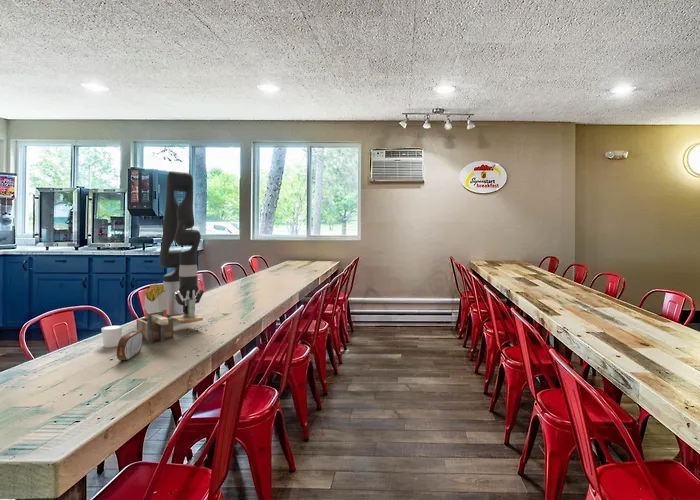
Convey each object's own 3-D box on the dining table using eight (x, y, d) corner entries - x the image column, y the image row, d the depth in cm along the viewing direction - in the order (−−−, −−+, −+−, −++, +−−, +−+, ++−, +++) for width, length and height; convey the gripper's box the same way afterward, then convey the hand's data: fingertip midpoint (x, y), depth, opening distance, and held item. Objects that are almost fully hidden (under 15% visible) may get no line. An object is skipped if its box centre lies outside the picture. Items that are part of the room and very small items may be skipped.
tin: (135, 349, 148) (135, 327, 148) (144, 349, 149) (144, 327, 148) (115, 364, 133) (115, 339, 133) (125, 363, 134) (124, 339, 133)
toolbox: (133, 336, 166) (132, 307, 165) (158, 331, 173) (158, 304, 173) (149, 344, 155) (148, 313, 154) (175, 338, 163) (175, 309, 162)
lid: (170, 319, 177) (169, 298, 176) (189, 315, 184) (189, 296, 183) (182, 324, 169) (182, 302, 168) (202, 320, 176) (202, 299, 175)
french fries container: (158, 325, 184) (157, 286, 183) (143, 321, 190) (143, 284, 188) (167, 322, 188) (166, 285, 187) (152, 319, 194) (152, 283, 192)
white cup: (126, 343, 156) (126, 325, 155) (111, 348, 149) (110, 330, 149) (113, 341, 158) (112, 324, 157) (97, 346, 151) (96, 328, 151)
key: (151, 320, 157) (150, 315, 157) (157, 319, 159) (157, 314, 159) (161, 325, 151) (161, 319, 150) (168, 324, 152) (168, 318, 152)
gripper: (176, 277, 168) (177, 317, 169) (207, 274, 179) (207, 312, 180) (168, 275, 173) (169, 314, 174) (199, 272, 184) (199, 309, 185)
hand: (189, 313), depth 177 cm, fingers closed on lid
